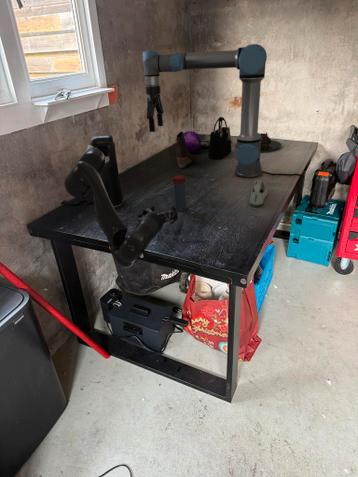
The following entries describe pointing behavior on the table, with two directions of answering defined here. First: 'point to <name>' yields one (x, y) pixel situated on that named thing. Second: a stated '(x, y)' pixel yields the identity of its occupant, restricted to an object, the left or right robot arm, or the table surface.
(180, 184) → the jar
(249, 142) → the right robot arm
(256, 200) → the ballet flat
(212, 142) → the handbag
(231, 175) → the table surface
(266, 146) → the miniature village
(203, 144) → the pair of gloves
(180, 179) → the lid
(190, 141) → the decorative orb
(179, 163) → the boot
